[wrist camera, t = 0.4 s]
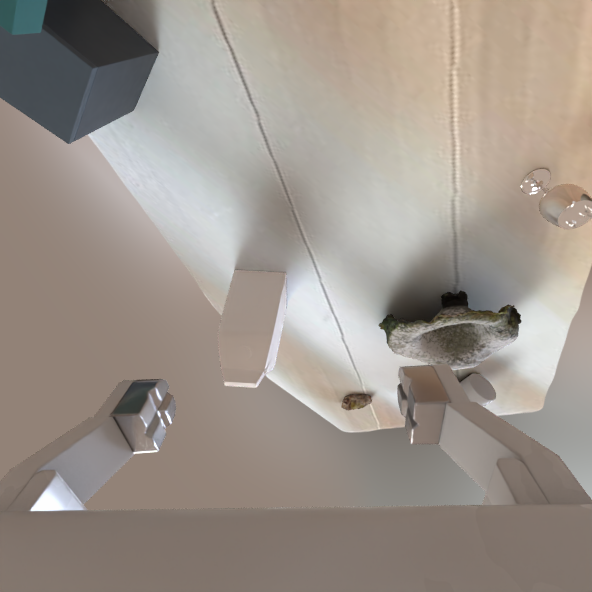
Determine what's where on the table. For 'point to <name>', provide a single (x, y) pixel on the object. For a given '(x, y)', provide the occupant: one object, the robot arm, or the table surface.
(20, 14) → the teal block
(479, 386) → the bent grey cylinder
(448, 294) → the mossy grey boulder
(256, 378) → the milk
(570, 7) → the table surface
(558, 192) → the wineglass
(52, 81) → the slate crate
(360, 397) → the mineral rock
